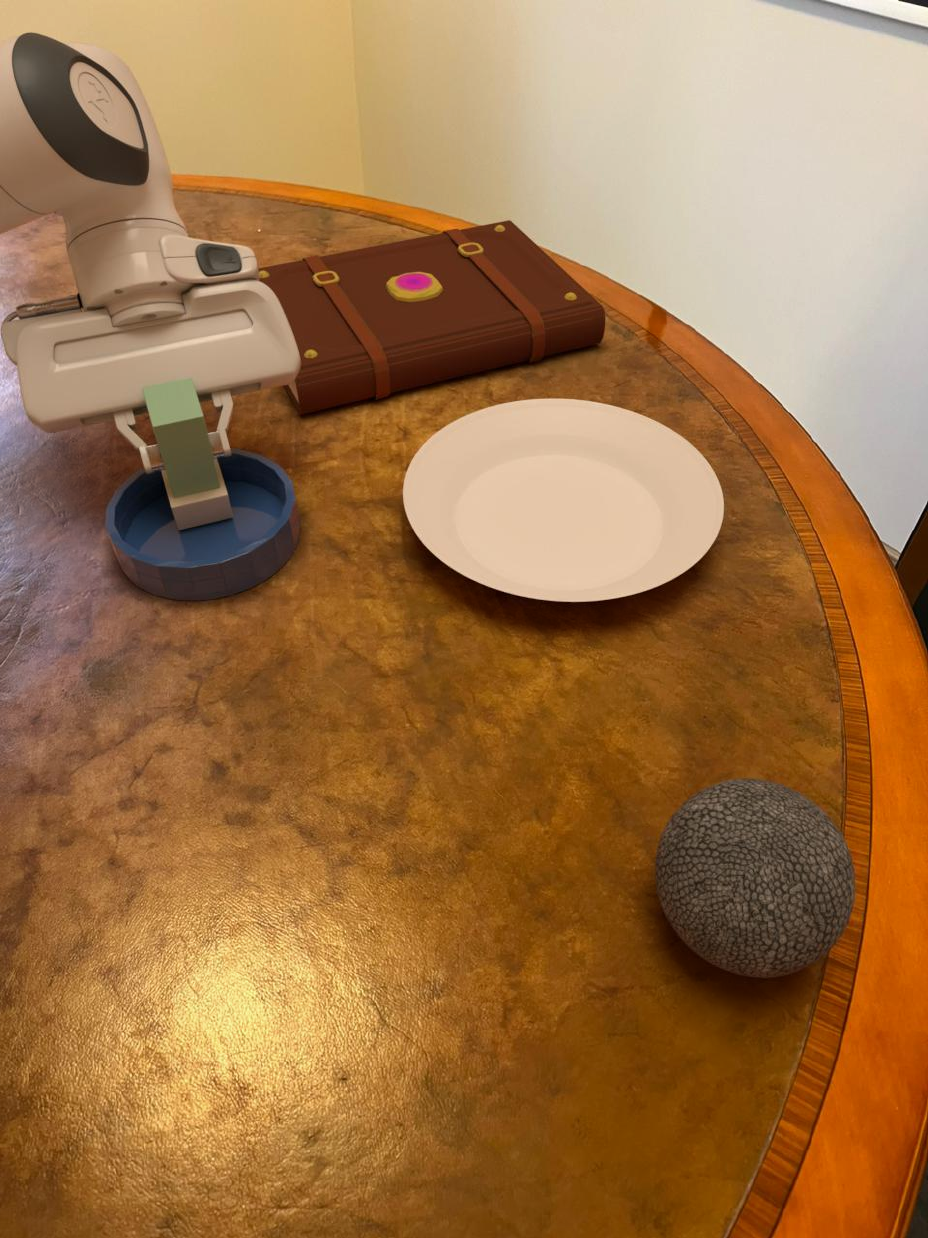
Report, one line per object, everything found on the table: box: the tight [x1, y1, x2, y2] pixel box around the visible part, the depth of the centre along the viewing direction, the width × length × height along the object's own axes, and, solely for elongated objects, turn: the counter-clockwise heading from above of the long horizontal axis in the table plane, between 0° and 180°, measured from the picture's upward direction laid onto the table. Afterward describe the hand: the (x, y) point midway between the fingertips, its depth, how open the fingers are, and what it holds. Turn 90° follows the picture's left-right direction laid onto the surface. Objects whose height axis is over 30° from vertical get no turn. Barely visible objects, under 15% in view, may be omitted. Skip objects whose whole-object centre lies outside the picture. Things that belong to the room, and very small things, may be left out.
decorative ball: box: [654, 777, 856, 979], centre depth 49 cm, size 10×10×10 cm
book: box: [258, 219, 606, 415], centre depth 95 cm, size 23×32×5 cm
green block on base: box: [142, 378, 233, 530], centre depth 71 cm, size 4×6×11 cm
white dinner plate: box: [402, 398, 725, 603], centre depth 74 cm, size 25×25×4 cm
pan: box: [104, 447, 301, 602], centre depth 73 cm, size 14×14×4 cm
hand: (189, 463), depth 70 cm, fingers closed on green block on base, 3 cm apart
